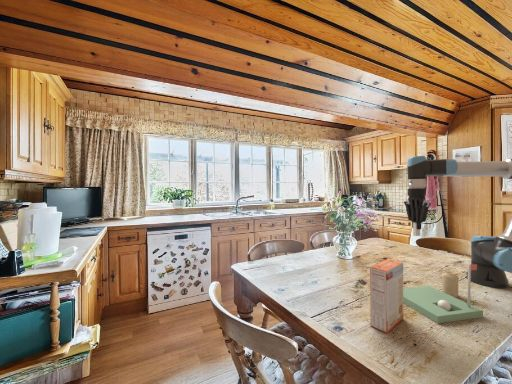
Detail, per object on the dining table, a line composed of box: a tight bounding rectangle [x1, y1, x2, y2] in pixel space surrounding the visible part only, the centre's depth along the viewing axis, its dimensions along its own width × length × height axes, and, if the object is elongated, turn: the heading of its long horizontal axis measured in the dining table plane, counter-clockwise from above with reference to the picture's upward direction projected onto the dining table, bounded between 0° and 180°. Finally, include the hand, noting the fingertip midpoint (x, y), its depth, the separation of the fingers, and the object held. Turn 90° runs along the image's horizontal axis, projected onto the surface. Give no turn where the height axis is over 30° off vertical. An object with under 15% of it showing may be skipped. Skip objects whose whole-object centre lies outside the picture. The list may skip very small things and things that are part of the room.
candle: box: [441, 271, 459, 298], centre depth 103 cm, size 6×6×10 cm
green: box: [403, 264, 484, 324], centre depth 94 cm, size 21×22×18 cm
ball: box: [438, 300, 451, 311], centre depth 89 cm, size 4×4×4 cm
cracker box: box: [369, 258, 404, 334], centre depth 82 cm, size 14×6×21 cm, turn 128°
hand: (416, 235), depth 115 cm, fingers closed
